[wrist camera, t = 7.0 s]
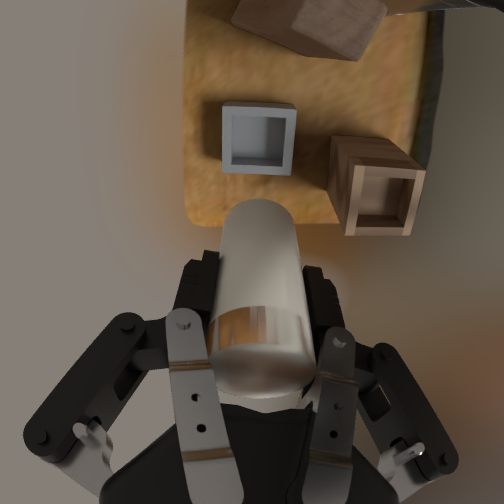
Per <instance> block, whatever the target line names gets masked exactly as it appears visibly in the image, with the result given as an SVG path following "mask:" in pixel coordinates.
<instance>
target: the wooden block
mask: <svg viewBox="0 0 504 504" xmlns="http://www.w3.org/2000/svg"><path fill="white" fill-rule="evenodd" d="M386 12H387V6H386V5H385V4H384V3H382V2H381V1H379V0H241V1H240V3H239V5H238V6H237V8H236V10H235V12H234V14H233V16H232V18H231V23H232V24H233V25H234V26H235V27H237V28H240V29H243V30H245V31H248V32H251V33H253V34H256V35H258V36H261V37H263V38H266V39H268V40H271V41H273V42H275V43H278V44H280V45H282V46H284V47H287V48H289V49H291V50H293V51H295V52H298V53H300V54H302V55H304V56H306V57H317V58H329V59H338V60H347V61H354V62H357V61H358V60H360V59H361V57H362V55H363V53H364V52H365V50H366V48H367V46H368V44H369V43H370V41H371V39H372V37H373V36H374V34H375V32H376V30H377V28H378V27H379V25H380V23H381V21H382V19H383V18H384V16H385V14H386Z"/></svg>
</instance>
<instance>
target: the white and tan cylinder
mask: <svg viewBox="0 0 504 504" xmlns="http://www.w3.org/2000/svg"><path fill="white" fill-rule="evenodd" d="M219 252H220V255H219V262H218V268H217V275H216V281H215V288H214V294H213V301H212V307H211V314H210V321H209V325H208V327H207V332H206V338H205V345H206V350H207V356H208V361H209V363H211V365H212V368H213V372H214V377H215V382H216V387H217V389H218V390H220V391H222V392H224V393H228V394H230V395H234V396H239V397H245V398H273V397H279V396H283V395H287V394H290V393H293V392H295V391H298V390H300V389H302V388H303V387H305V386H306V385H308V384H309V383H310V382H311V381H312V380H313V378H314V377H315V375H316V370H317V368H316V360H315V353H314V345H313V338H312V331H311V324H310V317H309V310H308V304H307V297H306V291H305V284H304V278H303V272H302V266H301V260H300V254H299V249H298V243H297V237H296V231H295V226H294V221H293V218H292V216H291V215H290V213H289V212H288V211H287V210H286V209H285V208H284V207H283V206H282V205H280V204H278V203H276V202H274V201H271V200H267V199H251V200H247V201H244V202H242V203H240V204H238V205H236V206H235V207H234V208H233V209H232V210H231V211H230V212H229V213H228V215H227V216H226V218H225V221H224V226H223V232H222V237H221V243H220V249H219Z"/></svg>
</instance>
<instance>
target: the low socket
mask: <svg viewBox="0 0 504 504" xmlns="http://www.w3.org/2000/svg"><path fill="white" fill-rule="evenodd" d="M296 114H297V109H296V108H295V106H294V105H293V104H283V103H267V102H243V101H225V103H224V104H223V106H222V173H246V174H269V175H286V176H291V167H292V157H293V147H294V137H295V126H296Z"/></svg>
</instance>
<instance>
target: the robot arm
mask: <svg viewBox="0 0 504 504" xmlns="http://www.w3.org/2000/svg"><path fill="white" fill-rule="evenodd" d="M379 1H381V2H382V3H384V4H385V5H386V6H387V12H386V14H385V15H387V16H393V15H402V14H407V13H414V12H422V11H430V10H441V9H454V8H490V7H491V8H496V9H499V10H500V11H502V12H504V0H379ZM219 255H220V252H215V251H209V250H204V253H203V257H202V261H200V260H193V259H191V260H190V261H189V262H188V263H187V264H186V265H185V266H184V270H183V274H182V277H181V280H180V284H179V288H178V291H177V295H176V299H175V303H174V306H173V309H172V311H171V312H170V313H169V314H168V315H167V316H165V317H164V318H161V319H158V320H150V321H144V320H143V319H142V318H141V317H140V316H139V315H137V314H135V313H131V312H127V313H121V314H119V315H118V316H116V317H115V318H113V320H112V321H111V322H110V323H109V324H108V325H107V327H106V328H105V329H104V330H103V331H102V332H101V333H100V334H99V336H98V337H97V338H96V339H95V340H94V341H93V343H92V344H91V345H90V346H89V347H88V348H87V349H86V351H85V352H84V353H83V354H82V356H81V357H80V358H79V359H78V360H77V361H76V362H75V364H74V365H73V366H72V367H71V368H70V370H69V371H68V372H67V373H66V375H65V376H64V377H63V378H62V379H61V381H60V382H59V383H58V384H57V386H56V387H55V388H54V389H53V391H52V392H51V393H50V394H49V396H48V397H47V398H46V400H45V401H44V402H43V403H42V405H41V406H40V407H39V408H38V410H37V411H36V412H35V414H34V415H33V416H32V418H31V419H30V420H29V421H28V423H27V424H26V426H25V428H24V432H23V438H24V442H25V444H26V446H27V448H28V449H29V450H30V451H31V452H32V453H34V454H35V455H37V456H38V457H40V458H41V459H42V460H43V461H45V462H47V463H48V464H50V465H52V466H54V467H55V468H58V469H60V470H61V471H63V472H64V473H65V474H67V475H68V476H69V477H70V478H72V479H73V480H75V481H76V482H77V483H78V484H80V485H81V486H83V487H84V488H86V489H87V490H89V491H90V492H91V493H93V494H94V495H96V496H97V497H99V504H400V502H401V501H403V500H404V499H406V498H407V497H409V496H410V495H412V494H413V493H415V492H416V491H418V490H419V489H420V488H422V487H423V486H424V485H426V484H428V483H430V482H433V481H435V480H437V479H439V478H442V477H444V476H446V475H449V474H451V473H452V472H454V471H455V469H456V468H457V466H458V461H459V457H458V453H457V451H456V449H455V447H454V445H453V443H452V442H451V440H450V438H449V436H448V434H447V433H446V431H445V429H444V427H443V426H442V424H441V422H440V420H439V419H438V417H437V415H436V413H435V412H434V410H433V408H432V407H431V405H430V403H429V402H428V400H427V398H426V397H425V395H424V393H423V392H422V390H421V388H420V387H419V385H418V383H417V382H416V380H415V379H414V377H413V375H412V374H411V372H410V371H409V369H408V367H407V366H406V364H405V363H404V361H403V360H402V358H401V356H400V355H399V353H398V352H397V351H396V349H395V348H394V347H393V346H391V345H389V344H387V343H378V344H376V345H375V346H374V347H373V348H371V347H368V346H365V345H362V344H360V343H358V342H356V341H355V338H354V336H353V335H352V333H351V332H349V331H348V330H347V329H346V328H345V324H344V320H343V316H342V311H341V307H340V305H339V299H338V296H337V291H336V288H335V286H334V285H333V283H332V282H331V281H330V280H329V279H324V277H323V273H322V269H321V268H320V267H313V266H307V265H305V266H304V268H303V271H302V272H303V278H304V284H305V291H306V297H307V304H308V310H309V317H310V324H311V331H312V338H313V345H314V353H315V360H316V368H317V370H316V375H315V377H314V378H313V380H312V381H311V382H310V383H309V384H308V385H306V386H305V387H303V388H302V389H300V394H299V398H298V402H297V405H296V407H295V409H287V410H282V411H277V412H271V413H261V412H257V411H254V410H251V409H248V408H245V407H242V406H239V405H232V404H223V403H220V401H219V396H218V391H217V387H216V382H215V377H214V372H213V368H212V365H211V363H209V361H208V356H207V350H206V345H205V338H206V332H207V327H208V325H209V321H210V314H211V307H212V301H213V294H214V288H215V281H216V275H217V268H218V262H219ZM164 368H169V374H170V382H171V392H172V400H173V408H174V415H175V424H174V425H173V426H171V427H170V428H169V429H168V430H167V431H166V432H165V433H164V434H162V435H161V436H160V437H159V438H158V439H156V440H155V441H154V442H153V443H152V444H150V445H149V446H148V447H147V448H146V449H145V450H143V451H142V452H141V453H140V454H138V455H137V456H136V457H135V458H133V459H132V460H131V461H130V462H128V463H127V464H126V465H125V466H123V467H122V468H121V469H120V470H118V471H117V472H116V473H113V472H112V470H111V468H110V464H109V460H110V456H111V454H112V451H113V443H112V440H111V438H110V437H109V435H108V434H107V431H108V430H109V428H110V427H111V425H112V424H113V422H114V421H115V419H116V418H117V416H118V415H119V413H120V412H121V411H122V409H123V408H124V406H125V405H126V403H127V402H128V400H129V399H130V398H131V396H132V395H133V393H134V392H135V390H136V389H137V387H138V386H139V384H140V383H141V382H142V380H143V379H144V377H145V376H146V374H147V373H148V371H149V370H155V369H164ZM379 385H380V386H381V387H382V389H383V391H384V393H385V394H386V396H387V398H388V400H389V402H390V404H391V406H390V404H389V403H388V401H387V399H386V397H385V395H384V394H383V392H382V390H381V388H380V387H379ZM357 409H358V411H359V413H360V415H361V417H362V419H363V421H364V423H365V425H366V427H367V429H368V431H369V432H370V434H371V436H372V438H373V440H374V442H375V444H376V446H377V448H378V450H379V452H380V454H381V456H380V460H379V464H378V470H379V472H381V474H380V473H379V472H378V471H377V470H376V469H375V468H374V467H373V465H371V464H370V462H369V461H368V460H367V459H366V458H365V457H364V456H363V455H362V454H361V453H360V452H359V451H358V450H357V449H356V447H354V445H353V437H354V430H355V421H356V411H357Z"/></svg>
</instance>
